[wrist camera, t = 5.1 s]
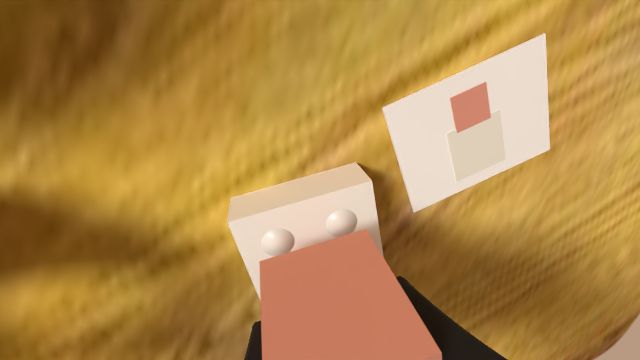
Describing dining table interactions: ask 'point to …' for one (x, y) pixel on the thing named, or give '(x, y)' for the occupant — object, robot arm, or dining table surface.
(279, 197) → the base brick
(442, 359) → the robot arm
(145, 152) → the dining table surface
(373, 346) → the red brick
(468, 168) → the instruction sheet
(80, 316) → the dining table surface
